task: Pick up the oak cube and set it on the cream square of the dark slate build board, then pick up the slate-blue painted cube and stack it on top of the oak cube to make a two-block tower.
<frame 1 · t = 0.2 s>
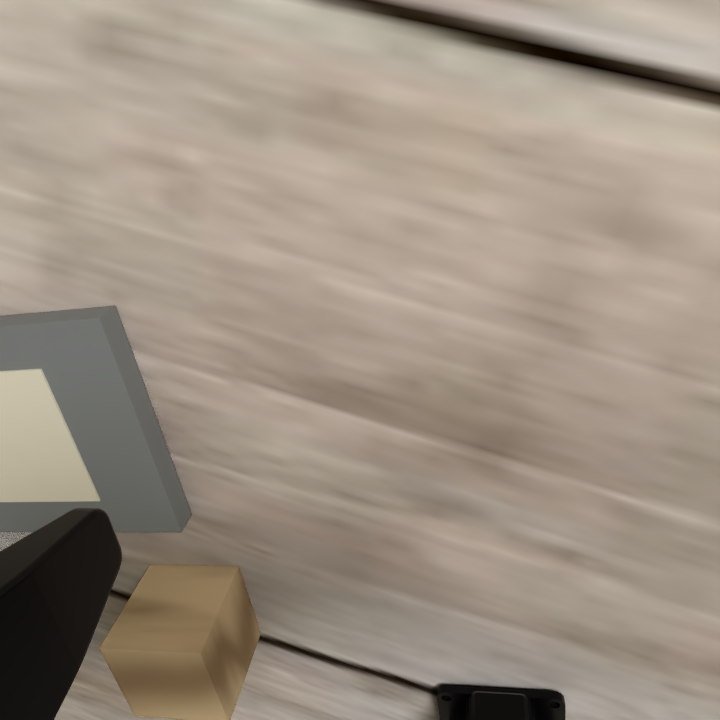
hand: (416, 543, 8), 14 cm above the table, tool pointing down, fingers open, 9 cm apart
build board: (22, 425, 28), on the table
oak block: (206, 598, 32), on the table
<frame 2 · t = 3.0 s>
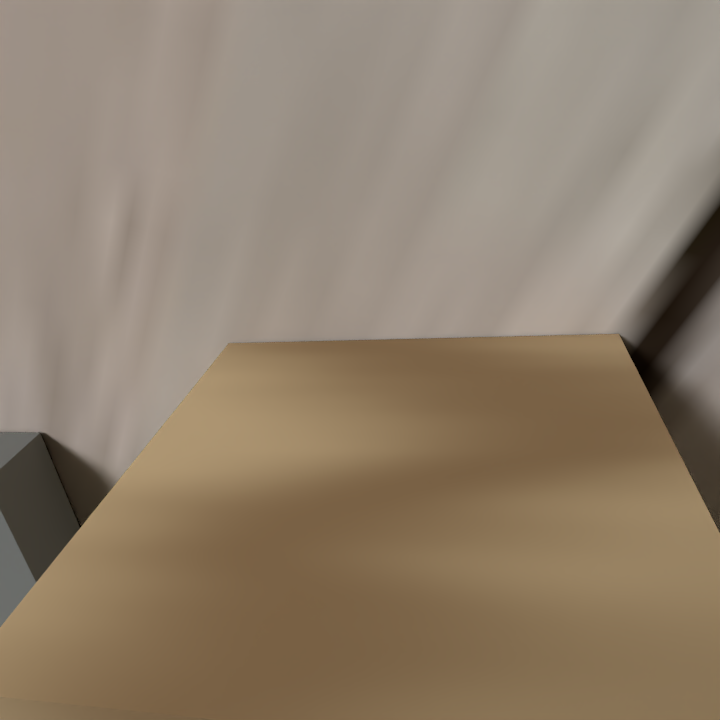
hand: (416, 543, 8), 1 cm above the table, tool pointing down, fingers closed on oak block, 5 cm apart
oak block: (422, 491, 9), on the table, touching gripper
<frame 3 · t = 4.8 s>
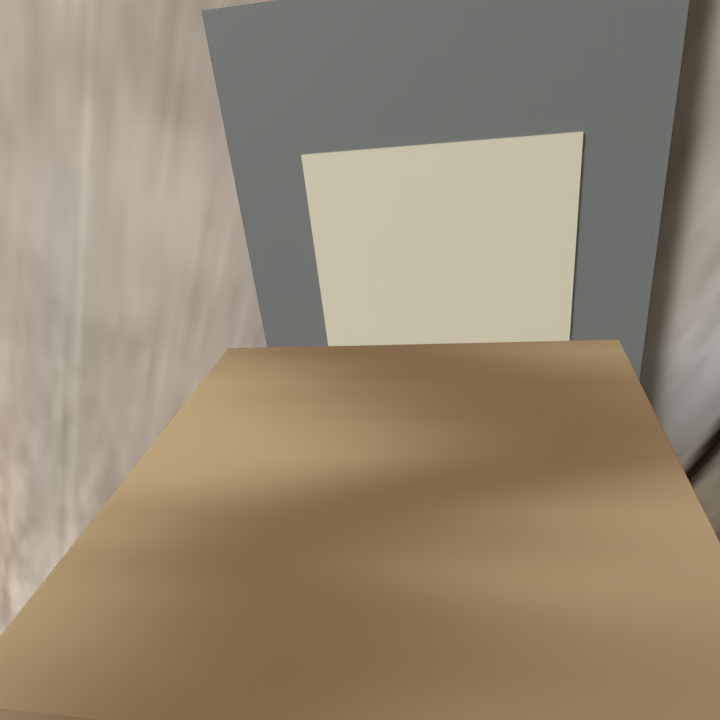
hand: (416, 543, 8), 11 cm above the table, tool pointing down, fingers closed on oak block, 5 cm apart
build board: (443, 261, 18), on the table
oak block: (422, 496, 9), point 10 cm above the table, touching gripper
when the fingers open (4 cm above the table, at t = 6.5 s): oak block drops 1 cm, resting on build board.
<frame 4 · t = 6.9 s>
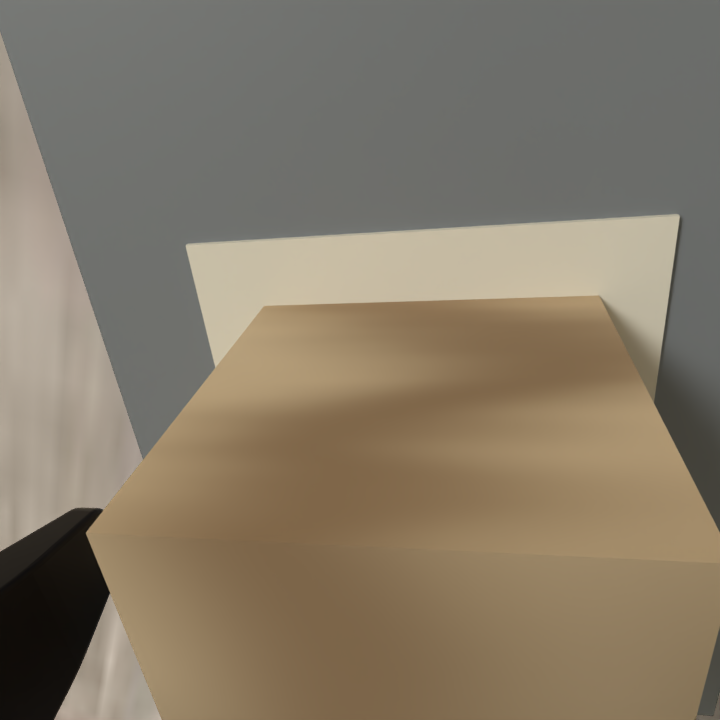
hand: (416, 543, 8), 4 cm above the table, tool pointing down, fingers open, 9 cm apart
build board: (430, 395, 11), on the table
oak block: (430, 438, 10), point 1 cm above the table, touching build board
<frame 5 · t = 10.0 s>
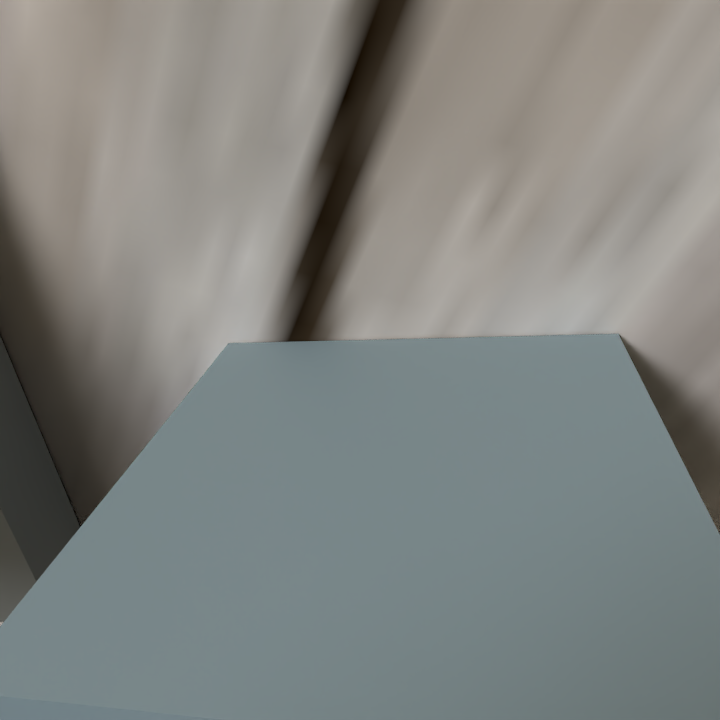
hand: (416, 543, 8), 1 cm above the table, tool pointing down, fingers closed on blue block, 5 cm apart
blue block: (422, 491, 9), on the table, touching gripper
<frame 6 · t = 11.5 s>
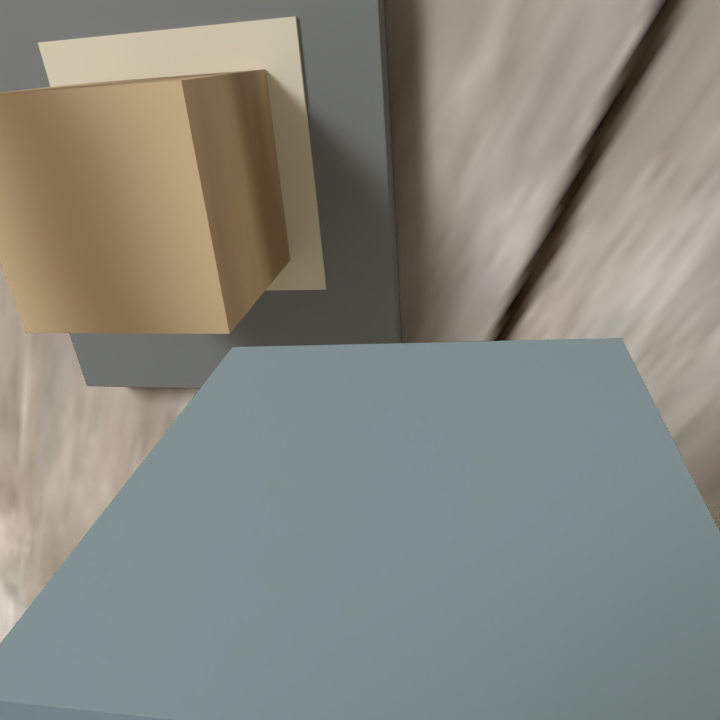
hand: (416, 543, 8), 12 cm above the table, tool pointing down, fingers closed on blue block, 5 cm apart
build board: (208, 164, 18), on the table
oak block: (192, 175, 17), point 1 cm above the table, touching build board
blue block: (425, 494, 9), point 10 cm above the table, touching gripper
when the fingers open (9 cm above the table, at t = 12.9 s): blue block drops 1 cm, resting on oak block.
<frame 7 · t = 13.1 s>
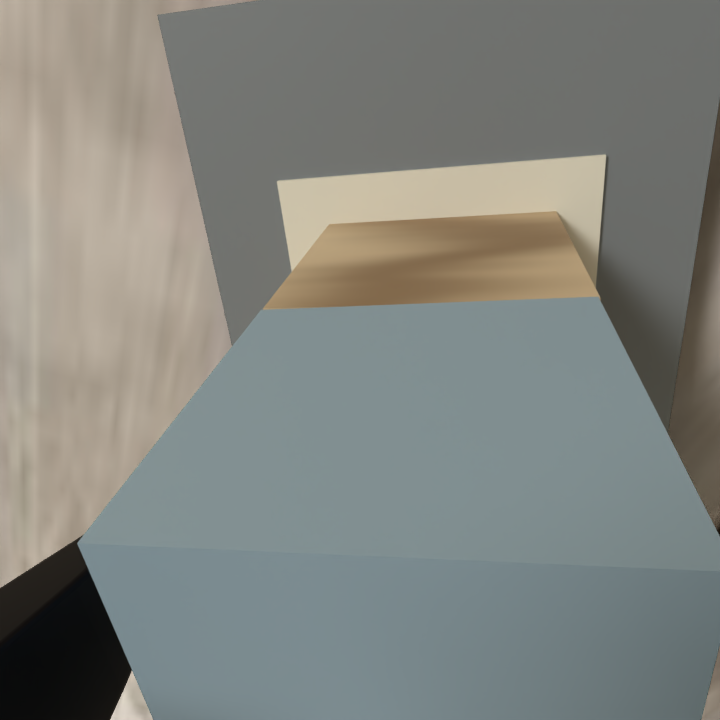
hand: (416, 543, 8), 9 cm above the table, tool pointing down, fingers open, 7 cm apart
build board: (442, 298, 15), on the table
oak block: (442, 321, 14), point 1 cm above the table, touching blue block, build board
blue block: (429, 442, 10), point 6 cm above the table, touching oak block
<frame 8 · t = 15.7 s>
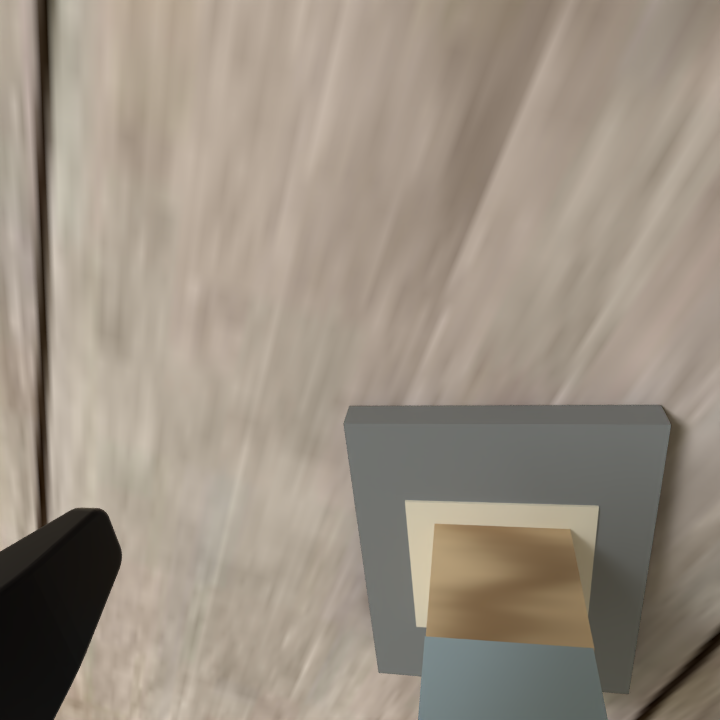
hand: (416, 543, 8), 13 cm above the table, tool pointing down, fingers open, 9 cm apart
build board: (497, 548, 25), on the table
oak block: (500, 573, 24), point 1 cm above the table, touching blue block, build board
blue block: (506, 693, 19), point 6 cm above the table, touching oak block
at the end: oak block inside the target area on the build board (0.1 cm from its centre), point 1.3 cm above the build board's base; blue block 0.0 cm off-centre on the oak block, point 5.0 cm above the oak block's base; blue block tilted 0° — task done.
